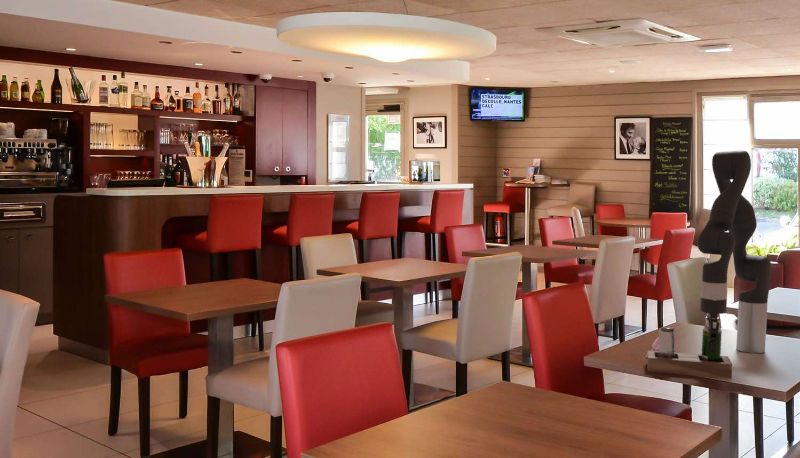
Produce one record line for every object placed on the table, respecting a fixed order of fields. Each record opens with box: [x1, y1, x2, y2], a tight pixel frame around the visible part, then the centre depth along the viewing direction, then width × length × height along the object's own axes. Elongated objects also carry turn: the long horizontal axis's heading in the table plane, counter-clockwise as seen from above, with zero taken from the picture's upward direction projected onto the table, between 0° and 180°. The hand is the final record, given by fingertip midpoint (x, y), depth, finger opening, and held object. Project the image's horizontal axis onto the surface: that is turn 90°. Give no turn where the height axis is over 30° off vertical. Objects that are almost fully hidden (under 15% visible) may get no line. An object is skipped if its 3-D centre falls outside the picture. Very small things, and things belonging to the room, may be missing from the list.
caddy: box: [646, 350, 733, 379], centre depth 253 cm, size 11×24×5 cm, turn 74°
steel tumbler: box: [658, 326, 676, 359], centre depth 255 cm, size 5×5×13 cm
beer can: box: [701, 325, 722, 362], centre depth 251 cm, size 5×5×12 cm
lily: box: [645, 337, 659, 358], centre depth 271 cm, size 12×12×10 cm
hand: (711, 351), depth 251 cm, fingers closed on beer can, 5 cm apart
